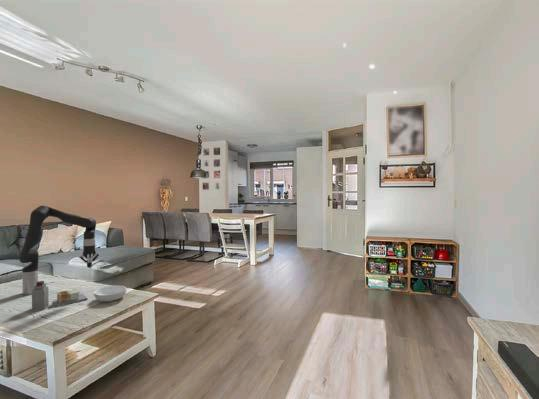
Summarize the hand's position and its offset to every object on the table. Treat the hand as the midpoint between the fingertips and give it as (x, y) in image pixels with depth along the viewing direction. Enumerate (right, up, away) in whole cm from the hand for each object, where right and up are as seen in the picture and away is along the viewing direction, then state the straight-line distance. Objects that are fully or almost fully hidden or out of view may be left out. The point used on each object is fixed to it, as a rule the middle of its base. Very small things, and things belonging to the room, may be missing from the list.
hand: (89, 267), depth 207 cm
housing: (-7, -21, -7) cm, 23 cm away
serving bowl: (+18, -23, -4) cm, 29 cm away
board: (-8, -22, -8) cm, 25 cm away
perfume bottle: (-19, -23, -21) cm, 36 cm away
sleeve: (-11, -21, -11) cm, 26 cm away
